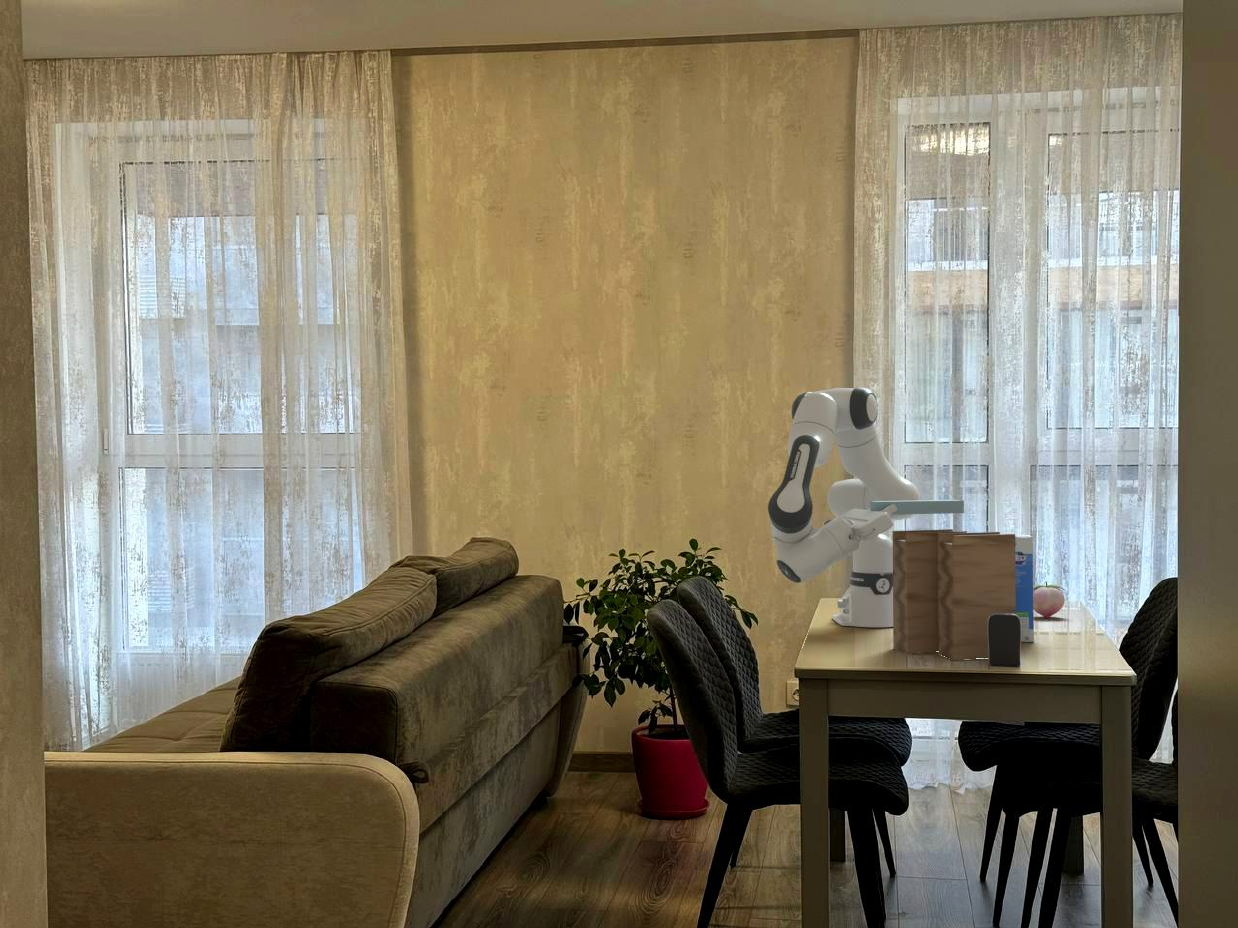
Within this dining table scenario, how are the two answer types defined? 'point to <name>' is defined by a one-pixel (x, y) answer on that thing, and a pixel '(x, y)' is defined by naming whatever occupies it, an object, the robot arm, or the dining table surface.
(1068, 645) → the dining table surface
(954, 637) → the right post
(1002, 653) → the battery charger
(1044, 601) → the decorative fruit
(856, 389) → the robot arm
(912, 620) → the left post
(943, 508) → the batten
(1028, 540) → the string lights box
